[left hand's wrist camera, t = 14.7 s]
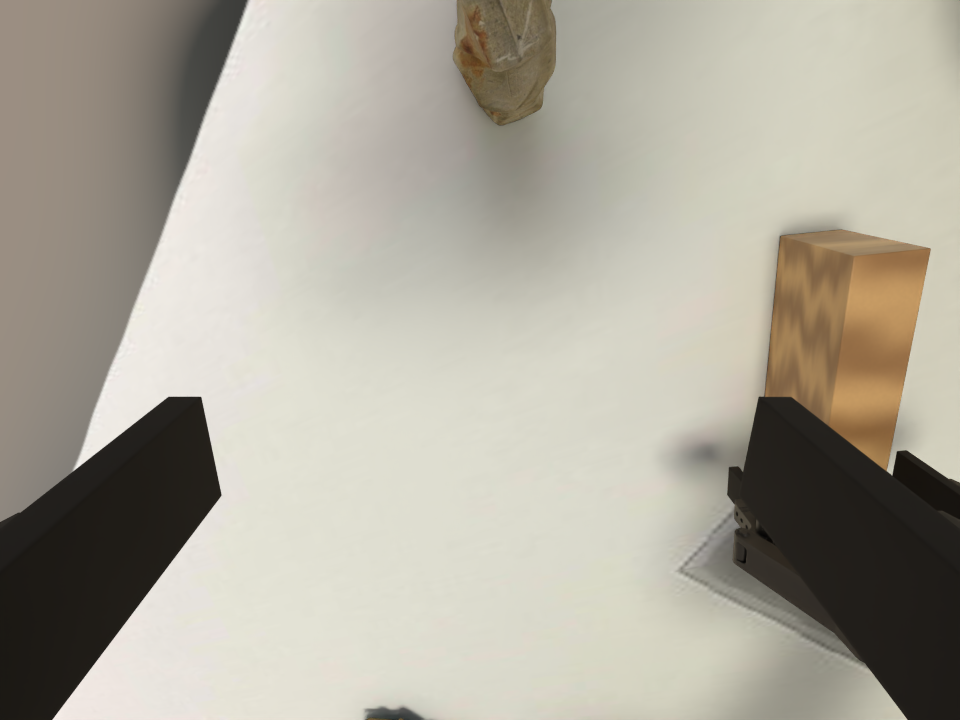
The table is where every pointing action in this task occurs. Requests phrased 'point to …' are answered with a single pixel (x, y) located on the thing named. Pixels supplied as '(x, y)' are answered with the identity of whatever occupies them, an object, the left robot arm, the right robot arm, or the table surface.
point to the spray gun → (380, 719)
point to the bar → (846, 331)
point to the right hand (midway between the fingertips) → (815, 472)
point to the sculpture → (506, 54)
